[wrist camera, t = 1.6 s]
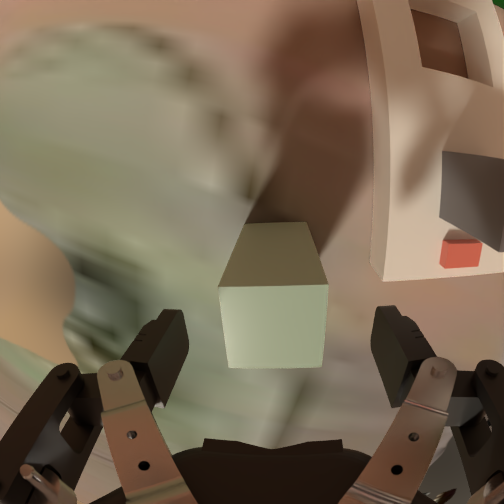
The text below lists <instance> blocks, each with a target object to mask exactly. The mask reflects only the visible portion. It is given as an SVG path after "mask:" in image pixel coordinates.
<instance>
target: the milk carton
mask: <svg viewBox="0 0 504 504" xmlns="http://www.w3.org/2000/svg"><path fill="white" fill-rule="evenodd" d="M492 2H493V4H495V5H497V6H499V7H501V8H503V9H504V0H492Z"/></svg>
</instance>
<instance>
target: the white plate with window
mask: <svg viewBox="0 0 504 504" xmlns="http://www.w3.org/2000/svg"><path fill="white" fill-rule="evenodd" d="M357 5H358V10H359V15H360V20H361V26H362V32H363V38H364V44H365V51H366V58H367V66H368V75H369V85H370V96H371V109H372V125H373V155H374V189H373V219H372V236H371V250H370V262H369V263H370V264H371V266H372V267H373V269H374V270H375V271H376V273H377V274H378V276H379V277H380V279H381V280H382V281H383V282H386V281H402V280H418V279H432V278H445V277H458V276H469V275H480V274H491V273H501V272H504V36H503V33H502V29H501V26H500V22H499V19H498V16H497V13H496V10H495V7H494V5H493V2H492V0H357ZM411 9H413V10H416V11H420V12H424V13H427V14H431V15H434V16H437V17H440V18H443V19H446V20H449V21H452V22H455V23H457V26H458V30H459V34H460V38H461V42H462V47H463V52H464V57H465V62H466V68H467V75H468V79H467V78H464V77H460V76H457V75H453V74H450V73H446V72H442V71H438V70H434V69H430V68H425V67H422V64H421V57H420V51H419V46H418V40H417V35H416V31H415V26H414V22H413V17H412V13H411Z"/></svg>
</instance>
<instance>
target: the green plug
mask: <svg viewBox="0 0 504 504" xmlns="http://www.w3.org/2000/svg"><path fill="white" fill-rule="evenodd" d="M328 286H329V284H328V281H327V278H326V275H325V272H324V270H323V267H322V264H321V261H320V258H319V255H318V252H317V250H316V247H315V244H314V241H313V238H312V236H311V233H310V230H309V228H308V225H307V222H276V223H247V224H244V226H243V228H242V231H241V233H240V235H239V238H238V240H237V243H236V245H235V247H234V250H233V252H232V254H231V257H230V259H229V261H228V264H227V266H226V269H225V271H224V273H223V276H222V278H221V281H220V283H219V285H218V292H219V300H220V308H221V315H222V323H223V330H224V337H225V345H226V352H227V358H228V365H229V368H310V367H322V359H323V349H324V339H325V328H326V316H327V302H328Z"/></svg>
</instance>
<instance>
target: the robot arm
mask: <svg viewBox="0 0 504 504" xmlns="http://www.w3.org/2000/svg"><path fill="white" fill-rule="evenodd" d="M188 351H189V339H188V334H187V329H186V325H185V320H184V315H183V312H182V310H175V309H164V310H163V311H162V312H161V313H160V315H159V316H158V318H157V319H156V320H152V321H150V322H149V323H147V324H146V325H144V326H143V328H142V329H141V330H140V332H139V333H138V335H137V336H136V338H135V339H134V341H133V342H132V343H131V345H130V346H129V348H128V349H127V350H126V352H125V353H124V355H123V356H122V358H121V359H120V360H114V361H110V362H108V363H106V364H104V365H103V366H102V367H101V368H100V369H99V370H98V372H97V373H90V374H81V373H80V371H79V369H78V367H77V366H76V365H75V364H72V363H63V364H60V365H58V366H56V367H54V368H53V369H52V370H51V371H50V372H49V374H48V375H47V376H46V378H45V379H44V380H43V382H42V383H41V384H40V385H39V387H38V388H37V389H36V391H35V392H34V393H33V395H32V396H31V398H30V399H29V400H28V402H27V403H26V404H25V406H24V407H23V409H22V410H21V411H20V413H19V414H18V416H17V417H16V419H15V420H14V421H13V423H12V424H11V426H10V427H9V429H8V430H7V432H6V433H5V435H4V436H3V438H2V439H1V441H0V504H77V498H76V495H75V493H74V490H75V487H76V485H77V483H78V480H79V478H80V476H81V474H82V471H83V469H84V467H85V465H86V462H87V460H88V458H89V456H90V454H91V451H92V449H93V447H94V445H95V443H96V441H97V439H98V436H99V434H100V432H101V430H102V428H103V426H104V430H105V434H106V438H107V441H108V445H109V448H110V452H111V455H112V459H113V462H114V465H115V468H116V471H117V474H118V477H119V480H120V482H121V485H122V486H121V487H120V488H118V489H116V490H114V491H112V492H111V493H109V494H107V495H105V496H103V497H101V498H99V499H97V500H95V501H93V502H91V503H89V504H438V503H436V502H435V501H433V500H432V499H430V498H429V497H427V496H426V495H424V494H423V493H421V492H420V491H419V490H418V488H419V486H420V484H421V482H422V480H423V478H424V476H425V474H426V472H427V470H428V467H429V465H430V463H431V460H432V458H433V456H434V453H435V451H436V448H437V446H438V443H439V440H440V438H441V435H442V432H443V429H444V427H445V426H450V427H451V430H452V433H453V436H454V438H455V441H456V444H457V447H458V450H459V453H460V457H461V460H462V463H463V466H464V470H465V473H466V477H467V480H468V484H469V488H470V492H471V497H470V499H469V501H468V503H467V504H504V367H503V366H502V365H501V364H500V363H498V362H497V361H494V360H482V361H480V362H479V363H478V364H477V366H476V369H475V371H458V370H457V369H456V367H455V365H454V364H453V363H452V362H450V361H449V360H447V359H445V358H441V357H437V356H436V354H435V353H434V351H433V349H432V348H431V346H430V345H429V343H428V341H427V340H426V338H425V337H424V335H423V334H422V332H421V331H420V329H419V327H418V326H417V324H416V323H415V322H414V321H413V320H411V319H410V318H409V317H407V316H402V315H401V314H400V312H399V311H398V309H397V307H396V306H395V305H391V306H378V307H377V308H376V311H375V317H374V323H373V329H372V334H371V351H372V354H373V356H374V359H375V362H376V365H377V367H378V370H379V373H380V376H381V378H382V381H383V384H384V387H385V390H386V393H387V396H388V398H389V401H390V404H391V407H392V408H395V407H401V408H400V410H399V412H398V413H397V415H396V417H395V419H394V421H393V423H392V425H391V426H390V428H389V430H388V432H387V433H386V435H385V437H384V438H383V440H382V442H381V444H380V445H379V447H378V448H377V450H376V452H375V453H374V455H373V456H372V457H371V456H369V455H367V454H365V453H362V452H359V451H356V450H351V449H345V448H343V445H342V439H339V440H328V441H312V442H305V443H301V444H297V445H292V446H288V447H283V448H278V449H267V448H262V447H258V446H254V445H250V444H246V443H242V442H239V441H228V440H216V439H207V438H205V439H204V443H203V447H198V448H193V449H188V450H185V451H182V452H179V453H176V454H174V455H172V454H171V452H170V450H169V448H168V446H167V444H166V442H165V440H164V438H163V436H162V434H161V432H160V430H159V428H158V425H157V423H156V421H155V419H154V417H153V415H152V410H153V408H154V407H160V408H165V406H166V403H167V401H168V399H169V396H170V394H171V392H172V389H173V387H174V385H175V382H176V380H177V378H178V375H179V373H180V371H181V368H182V366H183V364H184V361H185V359H186V357H187V354H188ZM67 411H68V413H69V414H70V417H69V419H68V421H67V422H66V424H65V426H64V428H63V429H62V431H61V433H60V431H59V426H60V423H61V421H62V419H63V417H64V416H65V414H66V412H67ZM485 414H487V416H488V419H489V421H490V423H491V426H492V433H491V431H490V428H489V426H488V424H487V421H486V419H485V417H484V416H485Z"/></svg>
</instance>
